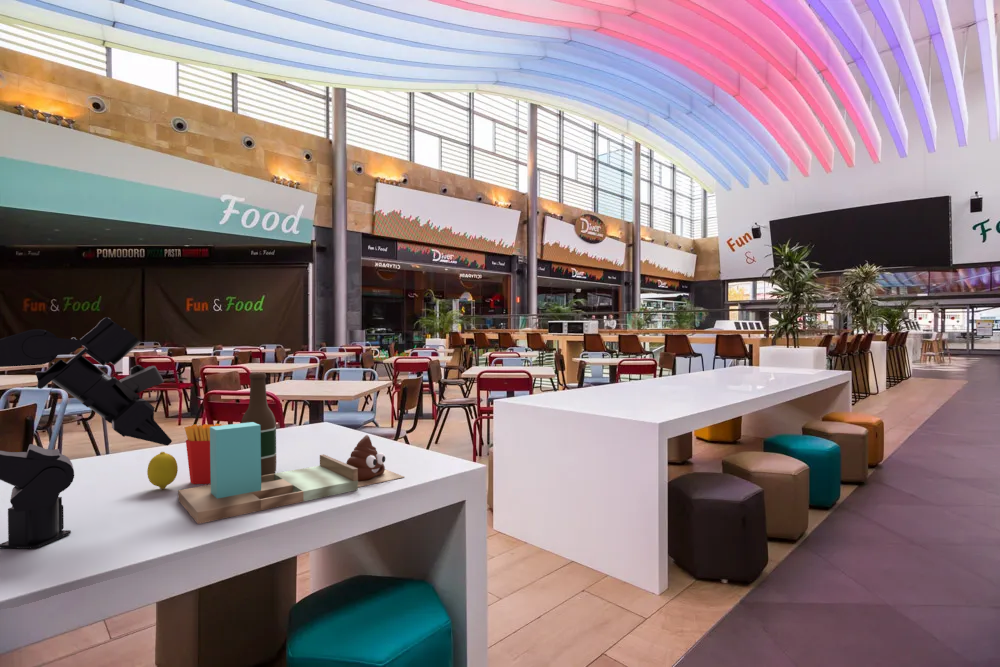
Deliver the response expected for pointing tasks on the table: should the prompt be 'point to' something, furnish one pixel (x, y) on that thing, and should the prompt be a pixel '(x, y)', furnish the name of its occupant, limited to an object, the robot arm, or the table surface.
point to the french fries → (199, 453)
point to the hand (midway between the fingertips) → (167, 441)
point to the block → (235, 459)
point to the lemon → (162, 470)
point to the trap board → (273, 491)
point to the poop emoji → (367, 460)
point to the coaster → (380, 478)
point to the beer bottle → (262, 422)
